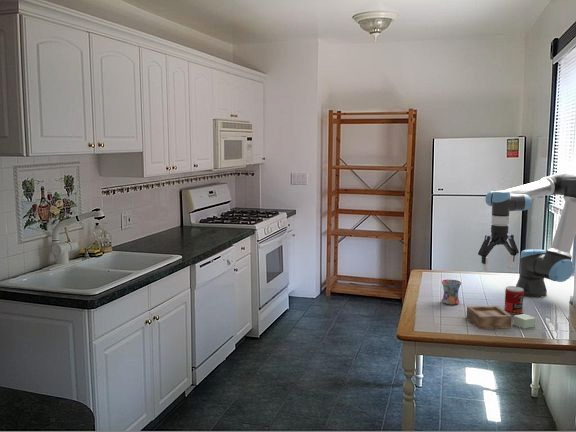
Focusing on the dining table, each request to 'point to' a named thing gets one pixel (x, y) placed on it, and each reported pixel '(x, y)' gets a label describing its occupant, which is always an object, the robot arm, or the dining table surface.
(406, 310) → the dining table surface
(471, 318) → the wooden tray
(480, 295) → the dining table surface
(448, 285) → the mug
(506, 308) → the canned food
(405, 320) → the dining table surface
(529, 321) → the brick
